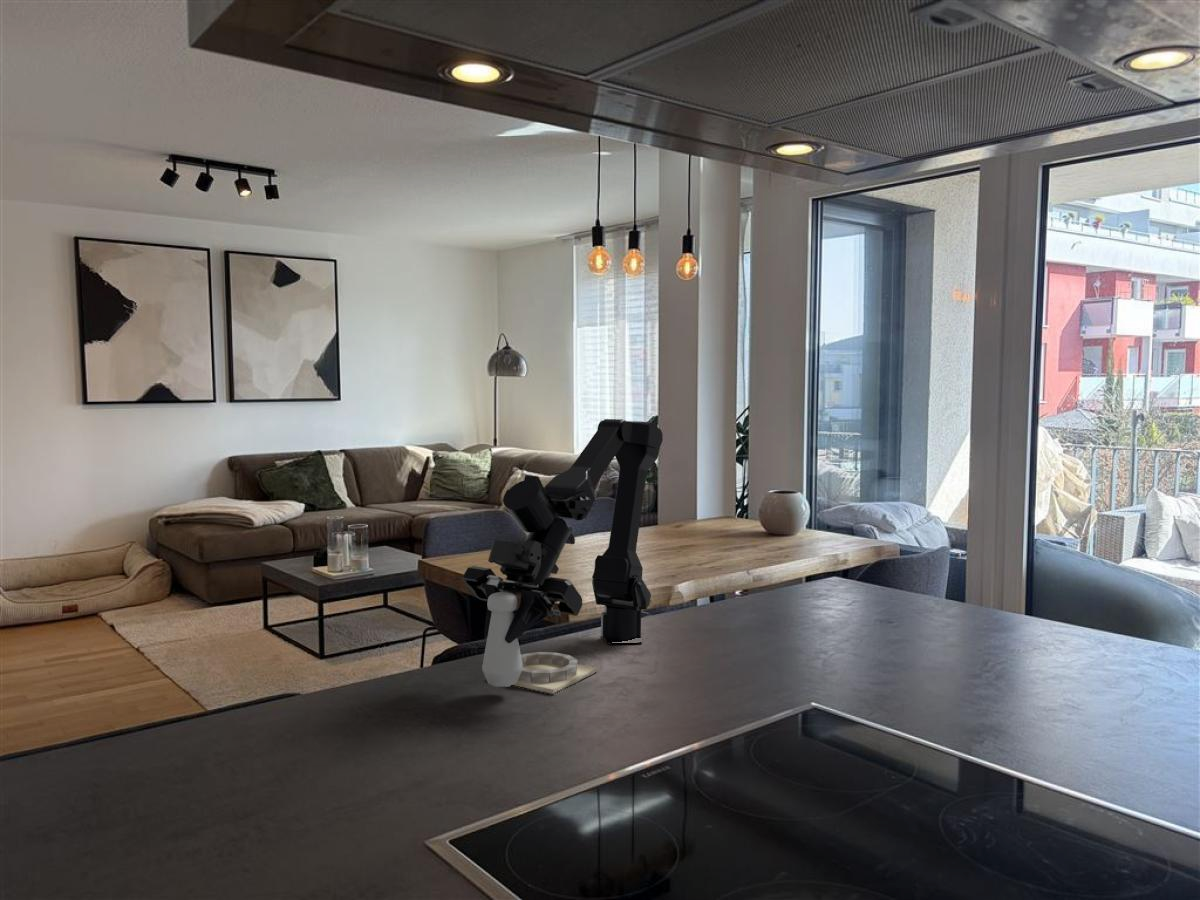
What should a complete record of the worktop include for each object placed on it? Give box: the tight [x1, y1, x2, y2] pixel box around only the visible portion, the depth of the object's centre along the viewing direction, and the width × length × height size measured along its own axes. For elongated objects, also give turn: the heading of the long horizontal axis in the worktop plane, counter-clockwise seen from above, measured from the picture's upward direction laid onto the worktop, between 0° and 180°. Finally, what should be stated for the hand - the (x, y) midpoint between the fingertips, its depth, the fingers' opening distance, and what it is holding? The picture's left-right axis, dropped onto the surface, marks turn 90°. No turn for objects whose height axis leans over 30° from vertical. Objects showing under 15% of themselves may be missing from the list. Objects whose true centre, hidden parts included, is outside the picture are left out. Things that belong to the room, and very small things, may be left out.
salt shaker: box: [481, 592, 522, 688], centre depth 126 cm, size 6×6×13 cm
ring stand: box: [514, 651, 598, 693], centre depth 135 cm, size 12×12×2 cm
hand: (496, 639), depth 124 cm, fingers closed on salt shaker, 3 cm apart
